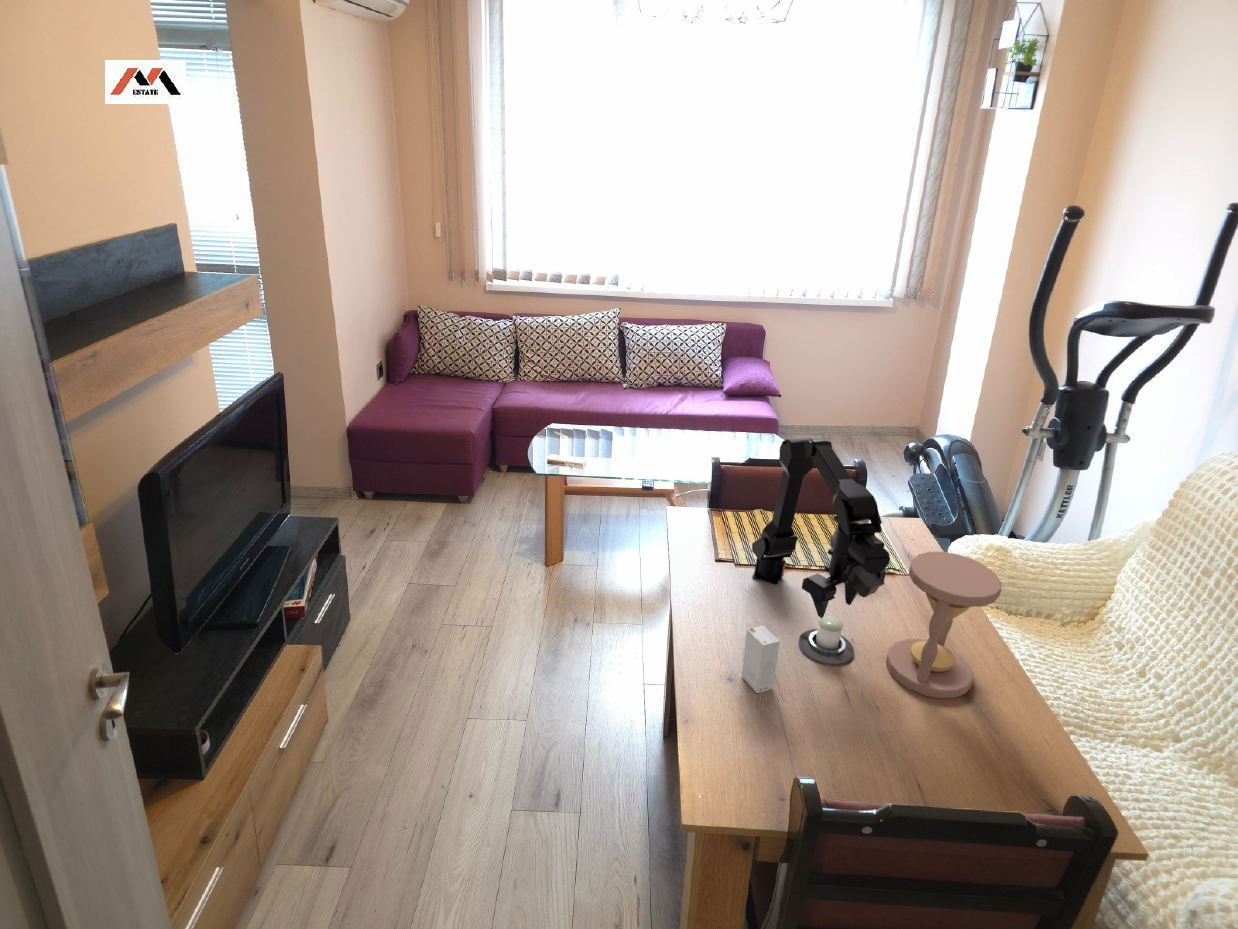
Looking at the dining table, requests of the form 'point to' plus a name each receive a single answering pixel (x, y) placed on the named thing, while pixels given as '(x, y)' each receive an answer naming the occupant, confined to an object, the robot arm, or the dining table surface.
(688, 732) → the dining table surface
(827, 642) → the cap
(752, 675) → the skincare box
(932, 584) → the hourglass
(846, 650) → the collar
